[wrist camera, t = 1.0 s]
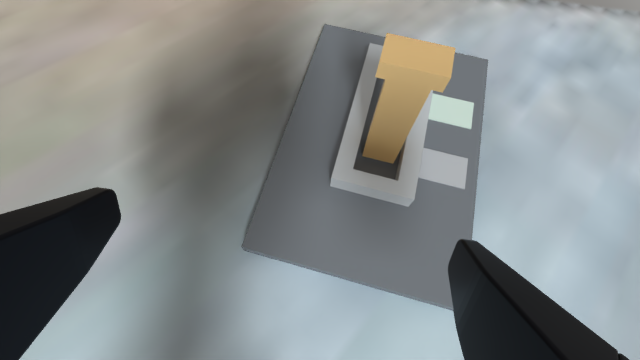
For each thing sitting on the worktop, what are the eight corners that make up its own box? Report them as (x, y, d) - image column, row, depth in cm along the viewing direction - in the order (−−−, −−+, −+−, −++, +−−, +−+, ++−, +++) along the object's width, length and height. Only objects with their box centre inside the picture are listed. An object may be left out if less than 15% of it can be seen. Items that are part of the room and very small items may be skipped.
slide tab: (399, 166, 22) (451, 77, 14) (354, 155, 23) (379, 61, 14) (404, 145, 23) (455, 48, 15) (360, 134, 23) (386, 32, 15)
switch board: (456, 311, 20) (476, 310, 18) (245, 250, 21) (236, 242, 19) (481, 70, 28) (496, 46, 25) (324, 35, 29) (325, 9, 27)
